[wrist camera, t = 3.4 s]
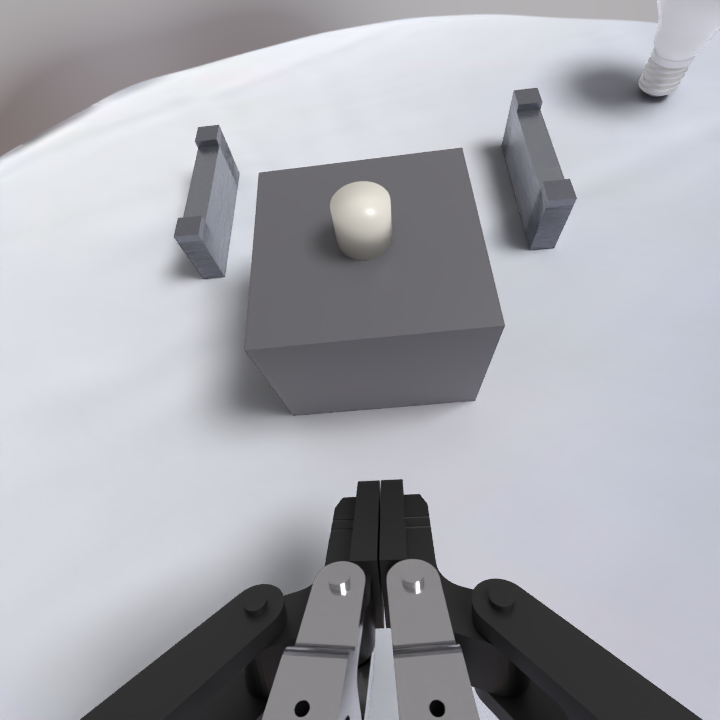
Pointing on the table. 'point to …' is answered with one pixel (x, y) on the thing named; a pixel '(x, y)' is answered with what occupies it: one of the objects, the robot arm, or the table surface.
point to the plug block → (371, 285)
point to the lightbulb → (678, 42)
